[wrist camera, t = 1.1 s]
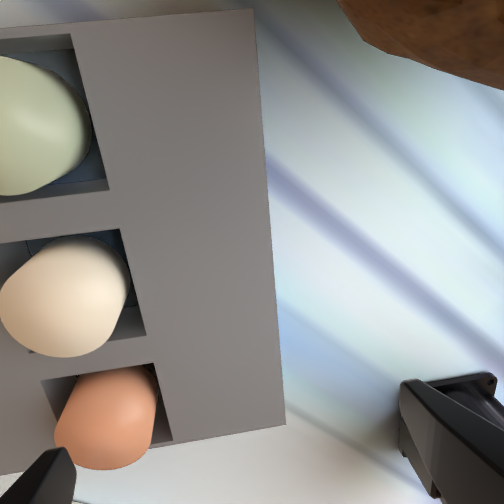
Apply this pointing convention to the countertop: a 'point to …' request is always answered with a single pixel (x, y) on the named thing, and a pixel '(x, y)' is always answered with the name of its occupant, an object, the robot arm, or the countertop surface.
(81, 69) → the panel
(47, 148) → the sage button
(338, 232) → the countertop surface
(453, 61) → the bowl
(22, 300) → the cream button
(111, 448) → the orange button
